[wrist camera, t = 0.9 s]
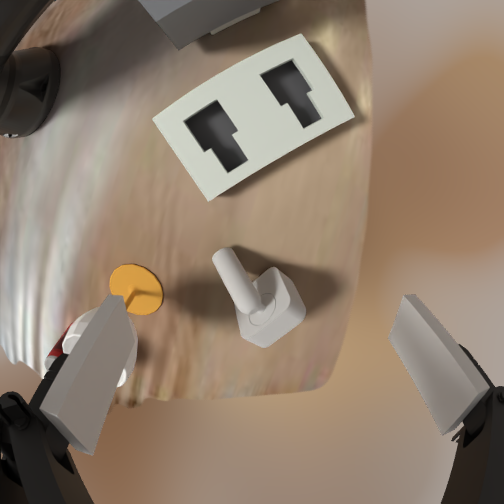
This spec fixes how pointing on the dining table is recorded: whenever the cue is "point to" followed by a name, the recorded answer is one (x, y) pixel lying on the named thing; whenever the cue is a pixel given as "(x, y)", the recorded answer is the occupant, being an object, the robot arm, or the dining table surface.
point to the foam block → (234, 21)
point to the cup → (136, 301)
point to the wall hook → (260, 300)
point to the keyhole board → (252, 114)
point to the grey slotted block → (196, 16)
